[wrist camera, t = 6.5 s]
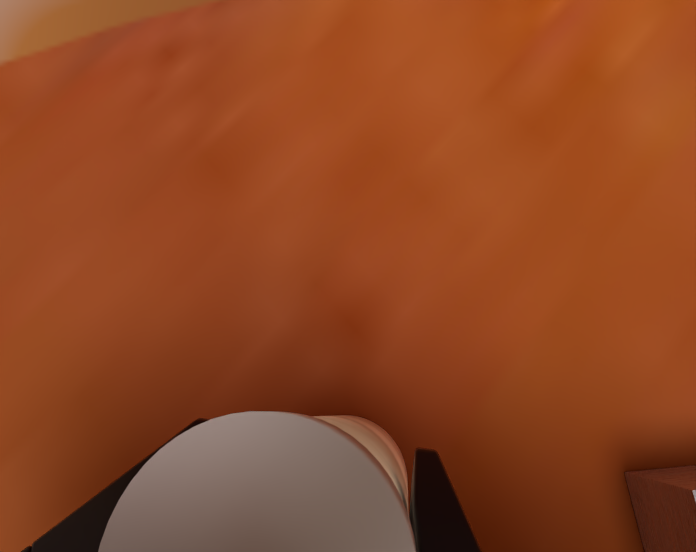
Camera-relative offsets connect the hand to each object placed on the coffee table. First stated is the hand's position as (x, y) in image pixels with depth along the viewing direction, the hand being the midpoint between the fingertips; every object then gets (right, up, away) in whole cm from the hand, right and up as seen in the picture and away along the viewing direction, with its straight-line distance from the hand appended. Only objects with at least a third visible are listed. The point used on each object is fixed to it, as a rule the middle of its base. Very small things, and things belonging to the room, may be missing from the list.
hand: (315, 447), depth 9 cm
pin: (+1, -3, +6) cm, 7 cm away
